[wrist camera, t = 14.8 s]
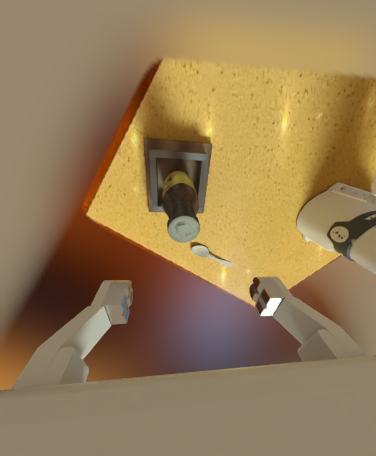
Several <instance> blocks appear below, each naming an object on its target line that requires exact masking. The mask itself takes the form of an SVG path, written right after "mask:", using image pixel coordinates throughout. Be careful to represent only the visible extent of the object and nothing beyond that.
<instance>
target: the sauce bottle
mask: <svg viewBox="0 0 376 456" xmlns="http://www.w3.org/2000/svg"><path fill="white" fill-rule="evenodd" d="M162 208H163V210H164V211H165V213H166V214H167V215H168V217H169V220H168V223H167V228H168V229H167V230H168V233H169V235H170V237H171V238H172V239H173V240H175V241H177V242H181V243H185V242H190V241H191V240H194V239H195V238H196V237H197V236H198V234H199V232H200V224H199V221H198V218H197V217H196V214H197V213H198V210H199V200H198V196H197V193H196V190H195V188H194V185H193V183H192V180H191V178H190V177H189V176H188V174H186V173H185V172H183V171H180V170H176V171H173V172H171V173H169V175H168V176H167V177H166V179H165V182H164V188H163V196H162Z"/></svg>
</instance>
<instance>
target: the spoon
mask: <svg viewBox="0 0 376 456" xmlns="http://www.w3.org/2000/svg"><path fill="white" fill-rule="evenodd" d="M199 248H202V249H203V251H201V252H199V251H198V249H199ZM191 250H192V252H193V253H195V254H196V255H198V256H201V257H209V258H212V259H214V260H217V261H219V262H221V263H222V264H224V265H226V266H229V267H232V266H233V264H232V263H231V262H228V261H225V260H221V259H218V258H215V257H212V256H211V255H210V254H209V250H208V248H207V247H206V246H203V245H196V246H193V247H192V249H191Z"/></svg>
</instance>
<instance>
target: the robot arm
mask: <svg viewBox="0 0 376 456" xmlns="http://www.w3.org/2000/svg"><path fill="white" fill-rule="evenodd" d="M297 228H298V230H299V231H300V232H301V233H302V234H303V239H304V240H305V241H307V242H309V241H313V242H315V243H316V244H318V245H320V246H321V247H323V248H325V249H326V250H328V251H337V252H338V253H340V254H341V255H342V256H344V257H345V258H348V259H349V260H351V261H356V262H357V263H359V264H360V265H362V266H363V267H365V268H366V269H368V270H369V271H371V272H372V273H374V274H375V275H376V194H374V193H371V192H368V191H365V190H362V189H359V188H356V187H353V186H350V185H346V184H343V183H340V182H337V183H335V184H334V185H333V186H331V187H330V188H329V189H328V190H327V191H325V192H323V193H321V194H319V195H318V196H316V197H314V198H313V199H312V200H310V201H309V202H308V203H307V204H306V205H305V206H304V208H303V209H302V210H301V212H300V214H299V216H298V219H297ZM249 291H250V296H251V298H252V300H253V301H255V302H256V305H255V306H256V308H257V310H258V312H259V314H260V316H273V317H274V318H275V319H276V320H277V321H278V322H279V323H280V324H282V325H283V327H284V328H286V329H287V330H288V331H289V332H290V333H291V334H292V335H293V336H294V337H295V338H296V339H297V340H298V341H299V342H300V343H301V344H302V346H301V347H300V348H299V349H298V354H299V355H300V357H301V359H302V360H303V362H296V363H286V364H275V365H265V366H254V367H244V368H232V369H222V370H211V371H201V372H191V373H179V374H169V375H159V376H148V377H137V378H127V379H116V380H105V381H95V382H85V380H86V378H87V375H88V372H89V369H88V367H87V365H86V364H85V363H84V361H83V359H84V358H85V356H86V355H87V354H88V353H89V352H90V350H91V349H92V348H93V347H94V345H95V344H96V343H97V342H98V340H99V339H100V338H101V337H102V336H103V335H104V333H105V332H106V331H107V330H108V329H109V327H110V326H111V324H122V323H126V322H127V319H128V315H129V308H128V307H129V306H130V305H131V303H132V297H133V290H132V288H131V281H130V280H113V281H112V280H105V281H103V283H102V284H101V286H100V288H99V290H98V292H97V294H96V296H95V298H94V300H93V303H92V304H91V306H89V307H87V308H85V309H84V310H83V311H82V312H81V313H79V314H78V315H77V316H76V317H74V318H73V319H72V320H71V321H70V322H69V323H67V324H66V325H65V326H64V327H63V328H61V329H60V330H59V331H58V332H57V333H55V334H54V335H53V336H52V337H50V338H49V339H48V340H47V341H46V342H44V343H43V344H42V345H41V346H39V348H38V349H37V350H36V351H35V353H34V354H33V356H32V358H31V359H30V361H29V362H28V364H27V365H26V367H25V368H24V370H23V371H22V373H21V375H20V376H19V378H18V379H17V381H16V382H15V384H14V385H13V387H12V388H11V389H10V390H0V456H376V355H371V356H366V355H365V354H364V352H363V351H362V350H361V349H360V348H359V347H358V346H357V344H356V343H355V342H354V341H353V340H352V339H351V338H350V337H349V336H348V335H347V333H346V332H345V331H344V330H343V329H342V328H341V327H340V326H338V325H336V324H335V323H334V322H332V321H331V320H329V319H328V318H326V317H325V316H323V315H321V314H320V313H318V312H317V311H315V310H314V309H312V308H311V307H309V306H308V305H306V304H304V303H303V302H302V301H300V300H299V299H297V298H294V297H293V296H292V295H291V293H290V292H289V291H288V289H287V288H286V287H285V285H284V284H283V283H282V282H281V280H280V279H279V278H278V277H255V278H254V279H253V284H252V285H251V286H250V288H249Z"/></svg>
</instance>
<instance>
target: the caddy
mask: <svg viewBox="0 0 376 456" xmlns="http://www.w3.org/2000/svg"><path fill="white" fill-rule="evenodd" d="M144 147H145V161H146V176H147V190H148V204H149V212H165V211H164V210H163V208H162V196H163V188H164V182H165V179H166V177H167V176H168V175H169V173H171V172H173V171H176V170H180V171H183V172H185V173H186V174H188V176H189V177H190V178H191V180H192V183H193V185H194V188H195V190H196V193H197V196H198V200H199V210H198V213H203V211H204V204H205V196H206V189H207V181H208V174H209V166H210V159H211V151H212V144H210V143H197V142H184V141H172V140H159V139H147V138H144Z"/></svg>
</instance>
